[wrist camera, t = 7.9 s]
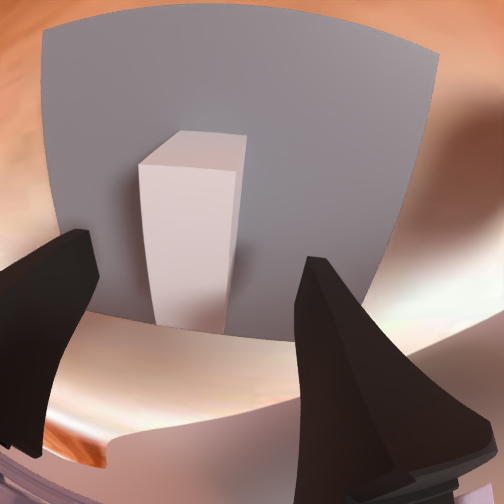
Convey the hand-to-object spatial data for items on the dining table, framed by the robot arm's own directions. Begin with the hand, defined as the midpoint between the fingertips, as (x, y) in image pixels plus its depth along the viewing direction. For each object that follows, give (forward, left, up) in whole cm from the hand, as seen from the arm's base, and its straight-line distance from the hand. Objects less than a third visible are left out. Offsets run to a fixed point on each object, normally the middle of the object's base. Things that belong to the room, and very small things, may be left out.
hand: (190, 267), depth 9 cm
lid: (0, 0, -4) cm, 5 cm away
